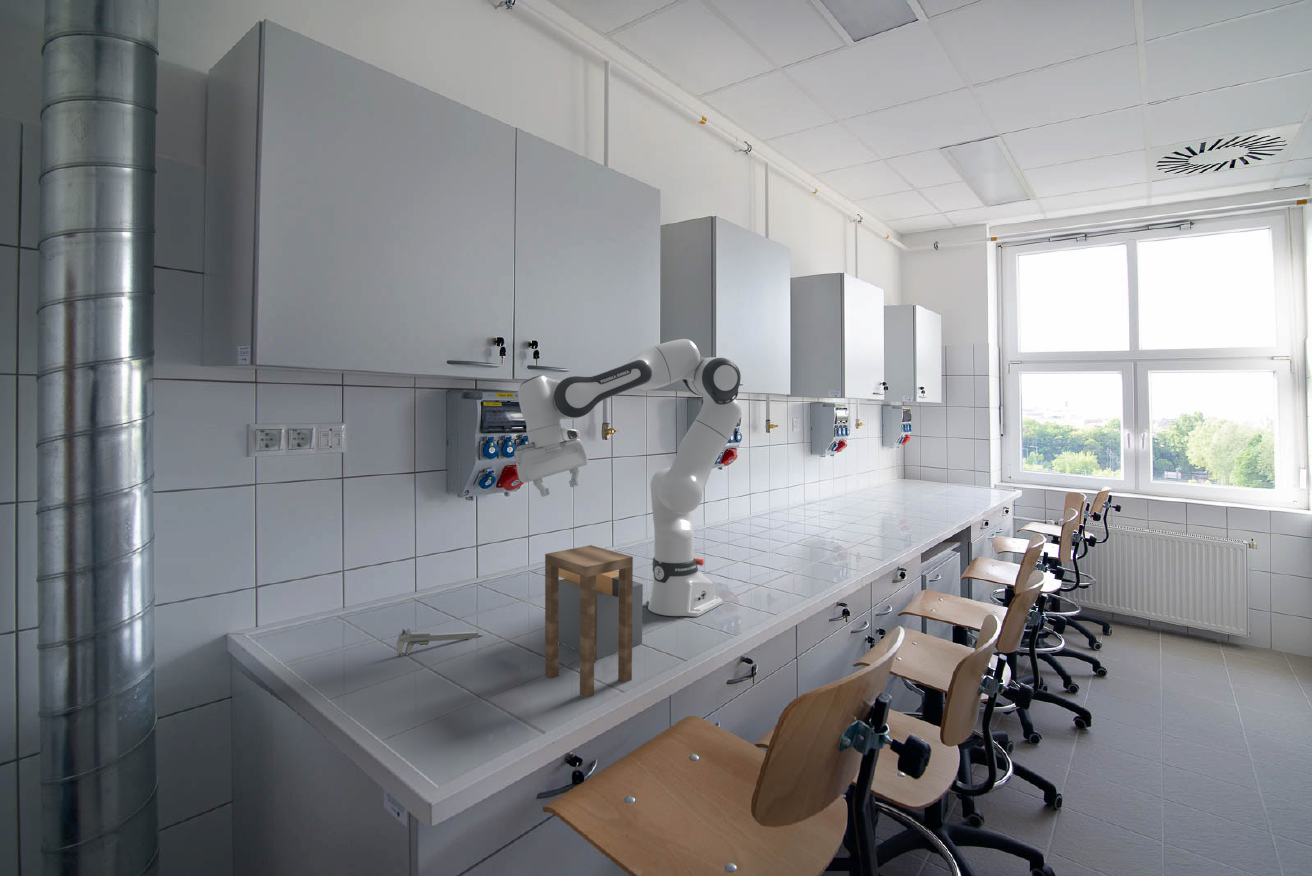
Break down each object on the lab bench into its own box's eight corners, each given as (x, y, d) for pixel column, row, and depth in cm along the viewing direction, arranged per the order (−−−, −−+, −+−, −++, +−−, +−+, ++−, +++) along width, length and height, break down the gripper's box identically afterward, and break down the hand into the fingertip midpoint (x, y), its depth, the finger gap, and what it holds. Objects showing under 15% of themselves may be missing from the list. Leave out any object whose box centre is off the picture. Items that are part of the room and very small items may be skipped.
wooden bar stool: (590, 659, 142) (590, 545, 140) (631, 679, 132) (632, 556, 130) (545, 675, 134) (545, 553, 132) (586, 698, 124) (586, 567, 122)
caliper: (398, 658, 142) (398, 631, 142) (396, 657, 143) (396, 630, 143) (483, 637, 156) (482, 611, 155) (481, 635, 156) (480, 610, 156)
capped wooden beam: (568, 572, 160) (568, 556, 160) (631, 593, 143) (631, 576, 143) (555, 575, 158) (555, 559, 157) (618, 597, 140) (618, 579, 140)
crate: (599, 626, 163) (600, 570, 162) (642, 643, 152) (642, 584, 151) (554, 640, 153) (555, 581, 153) (596, 659, 142) (596, 596, 141)
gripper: (519, 445, 153) (534, 500, 154) (583, 429, 168) (597, 480, 168) (506, 449, 158) (520, 502, 158) (570, 433, 172) (583, 482, 173)
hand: (560, 491), depth 163 cm, fingers open, 8 cm apart
